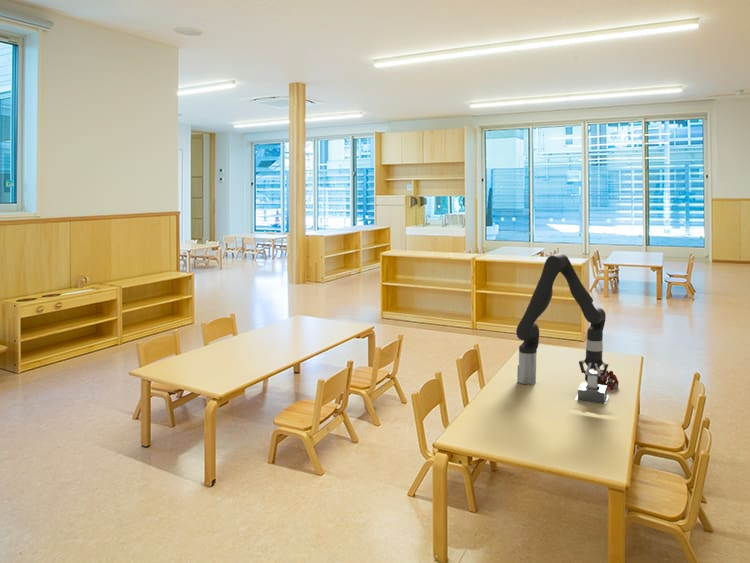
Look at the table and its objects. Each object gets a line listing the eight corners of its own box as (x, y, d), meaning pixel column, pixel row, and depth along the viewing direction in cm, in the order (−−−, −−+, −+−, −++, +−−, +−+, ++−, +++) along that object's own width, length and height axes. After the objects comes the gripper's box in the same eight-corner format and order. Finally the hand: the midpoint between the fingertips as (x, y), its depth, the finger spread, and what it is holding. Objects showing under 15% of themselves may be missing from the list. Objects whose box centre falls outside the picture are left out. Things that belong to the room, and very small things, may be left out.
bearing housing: (575, 402, 275) (575, 389, 274) (579, 393, 287) (579, 381, 286) (605, 407, 268) (606, 394, 267) (608, 397, 281) (609, 385, 280)
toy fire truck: (616, 393, 286) (617, 374, 284) (591, 389, 293) (591, 370, 291) (619, 389, 292) (620, 370, 290) (594, 385, 299) (595, 366, 297)
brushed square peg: (586, 394, 276) (587, 372, 275) (588, 391, 280) (589, 370, 278) (596, 395, 274) (597, 373, 273) (597, 392, 278) (598, 371, 276)
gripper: (577, 348, 274) (576, 382, 276) (609, 352, 267) (607, 386, 270) (580, 345, 280) (578, 378, 283) (610, 348, 274) (609, 382, 276)
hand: (592, 382), depth 276 cm, fingers closed on brushed square peg, 4 cm apart
